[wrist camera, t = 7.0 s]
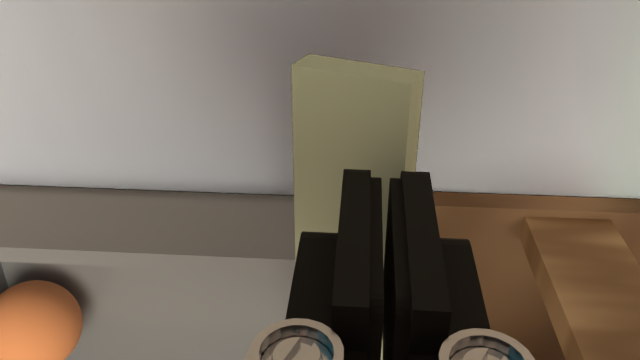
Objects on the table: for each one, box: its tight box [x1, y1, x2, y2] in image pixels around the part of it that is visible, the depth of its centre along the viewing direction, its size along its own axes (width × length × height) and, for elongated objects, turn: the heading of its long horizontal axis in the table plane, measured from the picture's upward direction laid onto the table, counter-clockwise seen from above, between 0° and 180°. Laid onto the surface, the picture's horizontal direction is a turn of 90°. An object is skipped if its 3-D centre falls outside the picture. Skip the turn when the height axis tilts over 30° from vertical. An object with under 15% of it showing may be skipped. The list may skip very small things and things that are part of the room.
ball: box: [0, 280, 83, 360], centre depth 24 cm, size 4×4×4 cm
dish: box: [0, 185, 295, 360], centre depth 24 cm, size 10×14×4 cm
